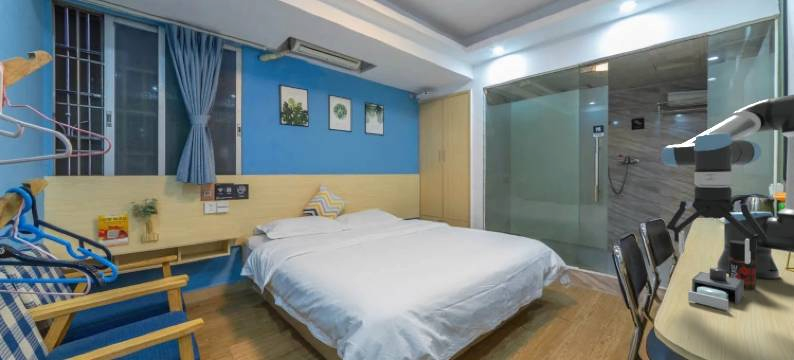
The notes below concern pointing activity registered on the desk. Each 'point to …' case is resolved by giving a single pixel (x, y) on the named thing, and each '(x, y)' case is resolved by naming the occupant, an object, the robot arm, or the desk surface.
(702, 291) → the pale blue flat dome
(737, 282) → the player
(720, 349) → the desk surface
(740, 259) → the deodorant
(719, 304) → the tray
